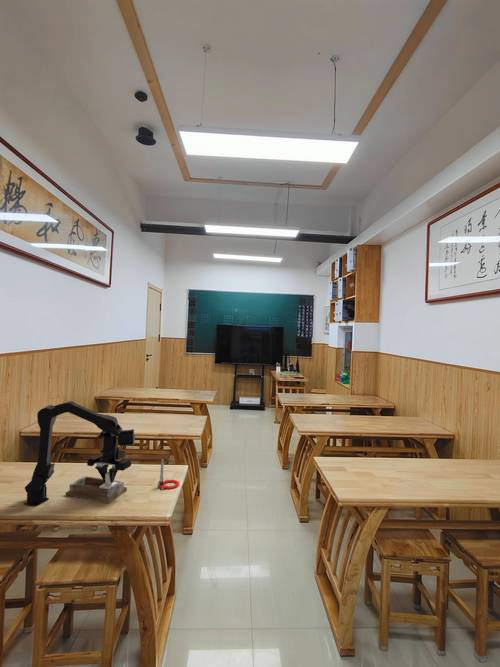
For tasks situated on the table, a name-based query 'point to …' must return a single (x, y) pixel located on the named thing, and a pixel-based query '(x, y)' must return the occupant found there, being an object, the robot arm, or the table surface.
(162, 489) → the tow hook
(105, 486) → the keeper
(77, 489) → the brown tray
